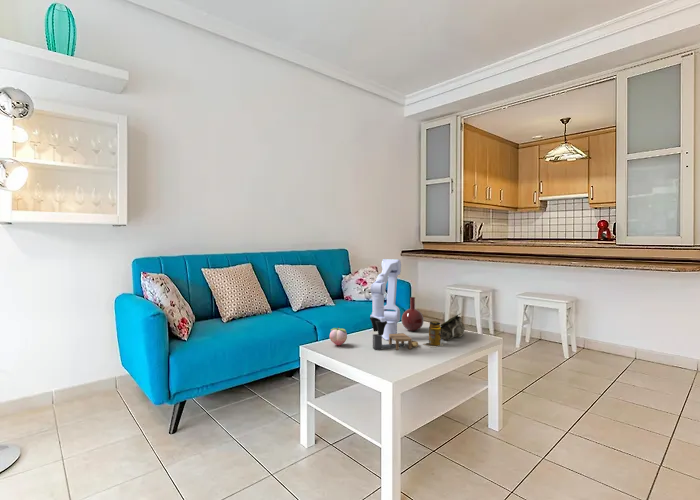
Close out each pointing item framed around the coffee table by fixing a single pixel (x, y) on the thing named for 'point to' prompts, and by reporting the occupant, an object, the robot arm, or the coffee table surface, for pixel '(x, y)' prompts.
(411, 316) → the round-bottom flask
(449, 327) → the hollow geode rock
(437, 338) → the condiment
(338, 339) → the decorative fruit
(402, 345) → the dark grey mallet
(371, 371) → the coffee table surface
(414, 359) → the coffee table surface
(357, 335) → the coffee table surface
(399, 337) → the stand
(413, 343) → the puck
